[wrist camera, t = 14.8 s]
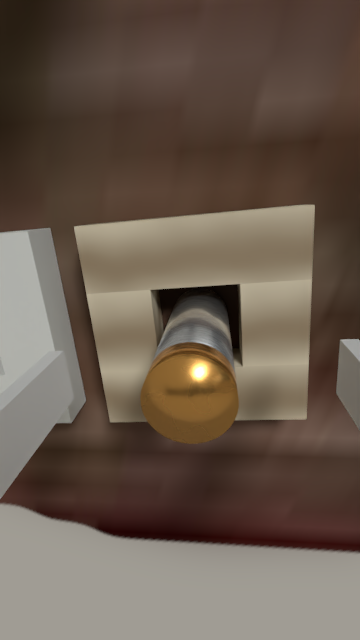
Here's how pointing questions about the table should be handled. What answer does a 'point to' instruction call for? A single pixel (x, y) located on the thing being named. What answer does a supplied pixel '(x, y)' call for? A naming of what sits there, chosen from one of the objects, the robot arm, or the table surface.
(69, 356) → the mount block
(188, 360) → the pin
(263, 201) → the table surface
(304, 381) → the block
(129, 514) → the table surface
